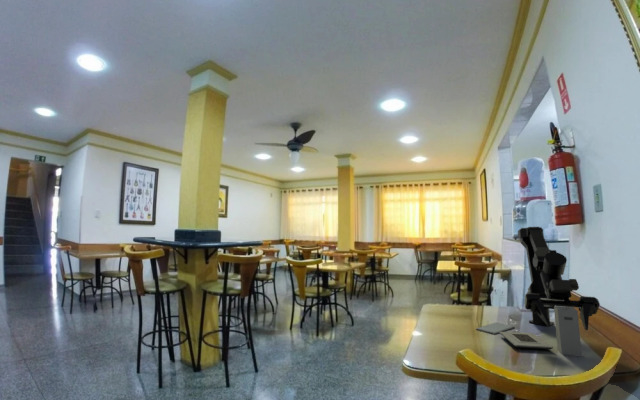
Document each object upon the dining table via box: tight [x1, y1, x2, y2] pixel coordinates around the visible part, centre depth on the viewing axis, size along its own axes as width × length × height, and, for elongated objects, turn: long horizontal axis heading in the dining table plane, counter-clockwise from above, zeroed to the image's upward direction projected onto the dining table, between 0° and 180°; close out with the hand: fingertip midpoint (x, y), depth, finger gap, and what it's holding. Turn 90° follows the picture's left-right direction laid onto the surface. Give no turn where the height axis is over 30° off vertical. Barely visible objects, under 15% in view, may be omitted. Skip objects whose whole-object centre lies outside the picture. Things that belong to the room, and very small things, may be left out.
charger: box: [553, 306, 583, 357], centre depth 93 cm, size 4×5×13 cm
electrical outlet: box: [499, 331, 554, 350], centre depth 100 cm, size 13×10×2 cm
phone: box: [475, 322, 516, 336], centre depth 116 cm, size 14×7×1 cm, turn 122°
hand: (567, 327), depth 93 cm, fingers open, 9 cm apart
